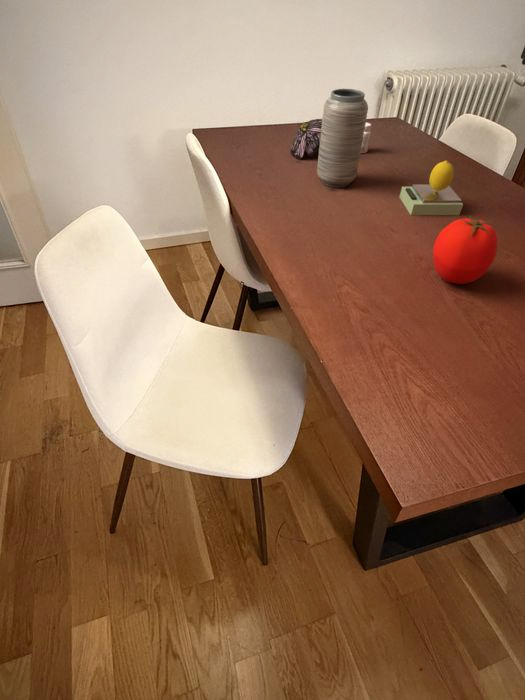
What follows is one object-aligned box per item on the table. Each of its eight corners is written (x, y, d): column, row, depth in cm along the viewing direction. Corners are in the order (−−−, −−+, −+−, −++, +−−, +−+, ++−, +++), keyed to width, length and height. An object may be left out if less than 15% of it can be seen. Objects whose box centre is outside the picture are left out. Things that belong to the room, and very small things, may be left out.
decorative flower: (287, 115, 134) (331, 103, 129) (296, 146, 144) (337, 136, 138) (282, 141, 127) (329, 130, 122) (292, 172, 137) (336, 163, 131)
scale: (444, 197, 113) (448, 184, 111) (459, 215, 106) (464, 202, 103) (399, 197, 113) (402, 184, 110) (410, 215, 105) (414, 202, 103)
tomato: (491, 278, 85) (520, 220, 76) (464, 302, 79) (492, 243, 70) (441, 256, 91) (462, 200, 82) (412, 278, 85) (432, 219, 76)
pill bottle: (359, 147, 141) (364, 121, 135) (370, 151, 138) (375, 124, 133) (350, 150, 139) (354, 123, 133) (361, 154, 136) (366, 127, 130)
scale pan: (447, 187, 111) (448, 184, 110) (460, 203, 104) (461, 200, 103) (411, 187, 111) (412, 184, 110) (422, 203, 104) (423, 200, 103)
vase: (312, 186, 117) (321, 96, 101) (320, 171, 125) (329, 85, 109) (351, 192, 115) (367, 100, 98) (357, 176, 123) (373, 89, 106)
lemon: (426, 195, 105) (435, 163, 100) (425, 186, 109) (434, 155, 103) (448, 197, 104) (459, 165, 99) (446, 188, 108) (457, 158, 102)
